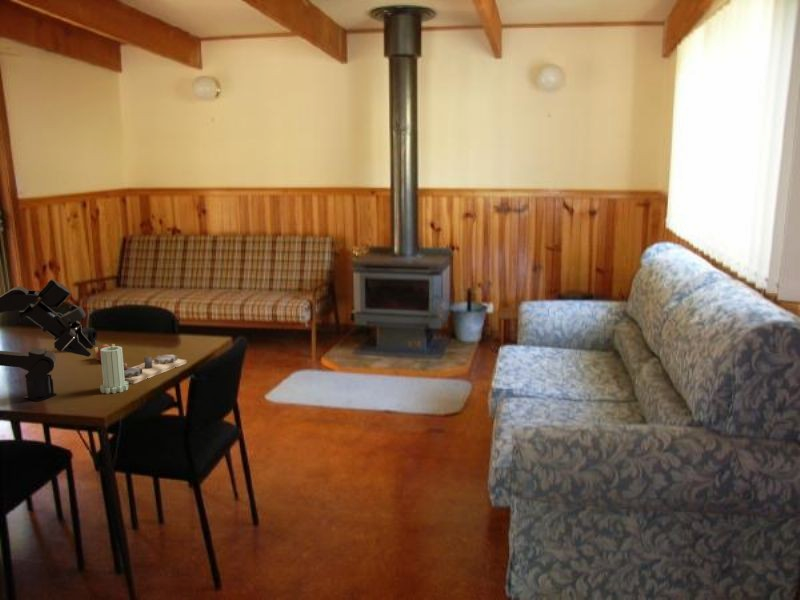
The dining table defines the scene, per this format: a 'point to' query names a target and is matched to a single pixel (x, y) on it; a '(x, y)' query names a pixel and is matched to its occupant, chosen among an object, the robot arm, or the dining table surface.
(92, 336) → the digital camera
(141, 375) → the gear board
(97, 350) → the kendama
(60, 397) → the dining table surface
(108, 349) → the gear sleeve
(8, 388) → the dining table surface
